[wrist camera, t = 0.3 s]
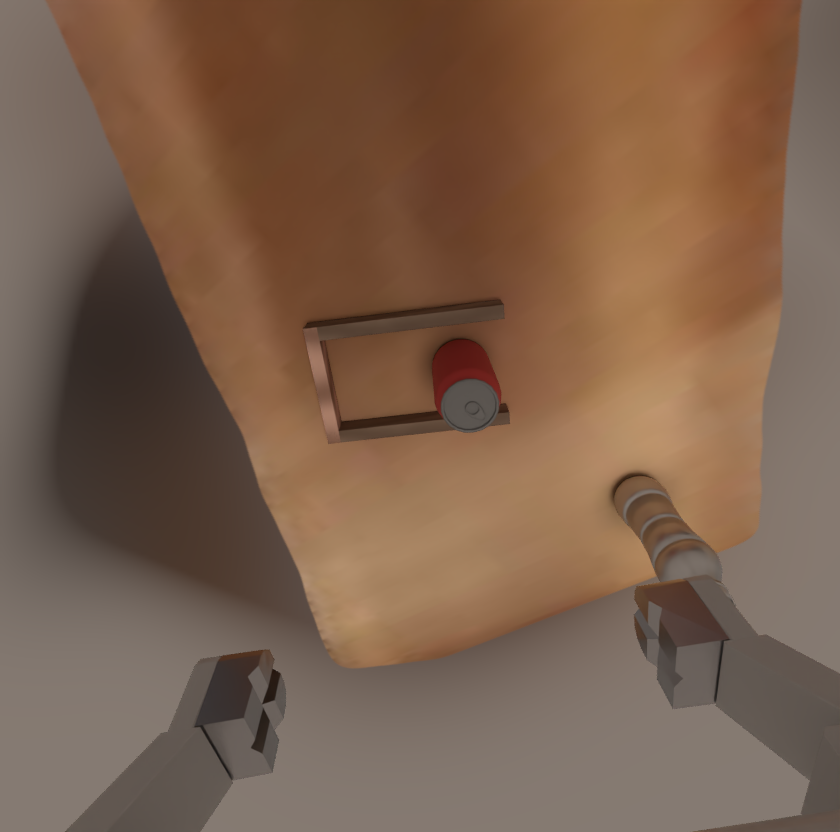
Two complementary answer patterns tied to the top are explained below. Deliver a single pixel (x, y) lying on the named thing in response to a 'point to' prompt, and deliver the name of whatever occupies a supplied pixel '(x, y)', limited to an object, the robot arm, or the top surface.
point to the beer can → (465, 386)
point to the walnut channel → (377, 325)
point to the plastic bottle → (665, 532)
